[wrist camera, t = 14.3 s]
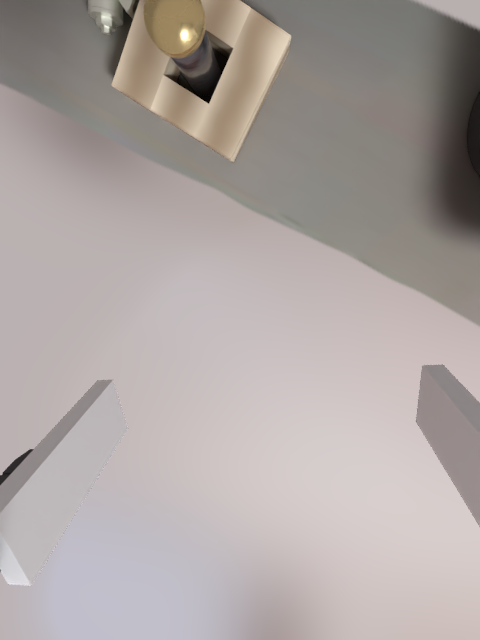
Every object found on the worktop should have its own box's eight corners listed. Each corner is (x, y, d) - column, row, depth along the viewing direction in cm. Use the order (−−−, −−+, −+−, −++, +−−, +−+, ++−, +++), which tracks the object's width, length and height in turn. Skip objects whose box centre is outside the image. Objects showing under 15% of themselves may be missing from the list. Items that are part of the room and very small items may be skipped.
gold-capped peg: (231, 67, 35) (214, -2, 23) (213, 108, 36) (187, 65, 24) (196, 43, 34) (158, -40, 22) (178, 86, 36) (134, 31, 24)
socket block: (288, 53, 34) (291, 35, 30) (233, 162, 38) (230, 159, 34) (170, -28, 32) (158, -57, 28) (127, 96, 36) (111, 85, 33)
